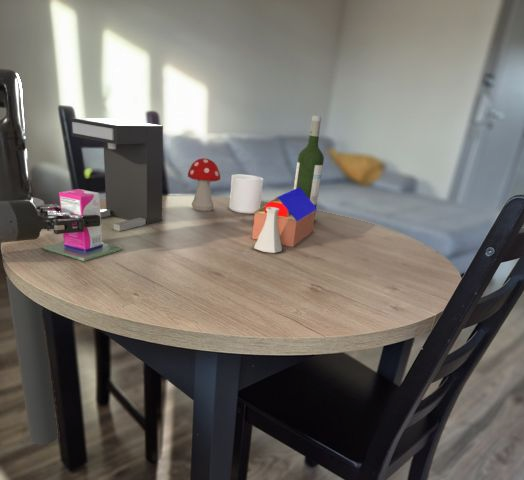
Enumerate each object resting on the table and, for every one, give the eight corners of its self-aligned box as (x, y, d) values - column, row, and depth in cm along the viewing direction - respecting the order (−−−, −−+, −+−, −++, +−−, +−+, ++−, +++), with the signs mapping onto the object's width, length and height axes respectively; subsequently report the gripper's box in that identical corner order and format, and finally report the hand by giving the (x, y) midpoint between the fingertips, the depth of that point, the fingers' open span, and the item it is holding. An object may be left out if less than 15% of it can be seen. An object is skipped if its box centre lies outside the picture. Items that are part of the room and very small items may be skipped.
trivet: (44, 249, 101) (44, 246, 101) (83, 239, 110) (83, 236, 110) (83, 261, 97) (83, 258, 97) (121, 250, 106) (120, 247, 106)
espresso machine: (76, 220, 124) (68, 117, 113) (122, 210, 138) (119, 118, 127) (118, 231, 119) (114, 125, 108) (162, 220, 133) (163, 125, 122)
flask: (259, 243, 124) (264, 203, 119) (286, 248, 122) (291, 208, 117) (249, 249, 118) (253, 208, 113) (276, 255, 116) (281, 213, 111)
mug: (255, 215, 152) (259, 181, 147) (225, 210, 153) (227, 176, 148) (264, 208, 163) (268, 176, 158) (236, 203, 164) (238, 172, 159)
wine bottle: (292, 215, 158) (306, 114, 144) (316, 219, 156) (332, 117, 142) (287, 219, 151) (301, 114, 137) (311, 223, 150) (328, 117, 136)
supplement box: (81, 241, 107) (78, 188, 101) (103, 246, 105) (101, 193, 100) (62, 246, 102) (58, 191, 97) (85, 252, 100) (81, 196, 95)
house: (313, 231, 141) (319, 190, 135) (293, 247, 124) (300, 201, 118) (274, 224, 144) (279, 183, 138) (250, 238, 127) (255, 192, 121)
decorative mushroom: (186, 210, 147) (188, 158, 140) (186, 204, 154) (188, 154, 147) (219, 213, 149) (222, 162, 142) (217, 207, 156) (220, 158, 149)
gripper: (19, 210, 85) (106, 205, 96) (-8, 193, 94) (74, 190, 104) (24, 251, 89) (107, 242, 99) (-2, 231, 97) (77, 224, 108)
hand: (90, 215), depth 102 cm, fingers closed on supplement box, 7 cm apart
